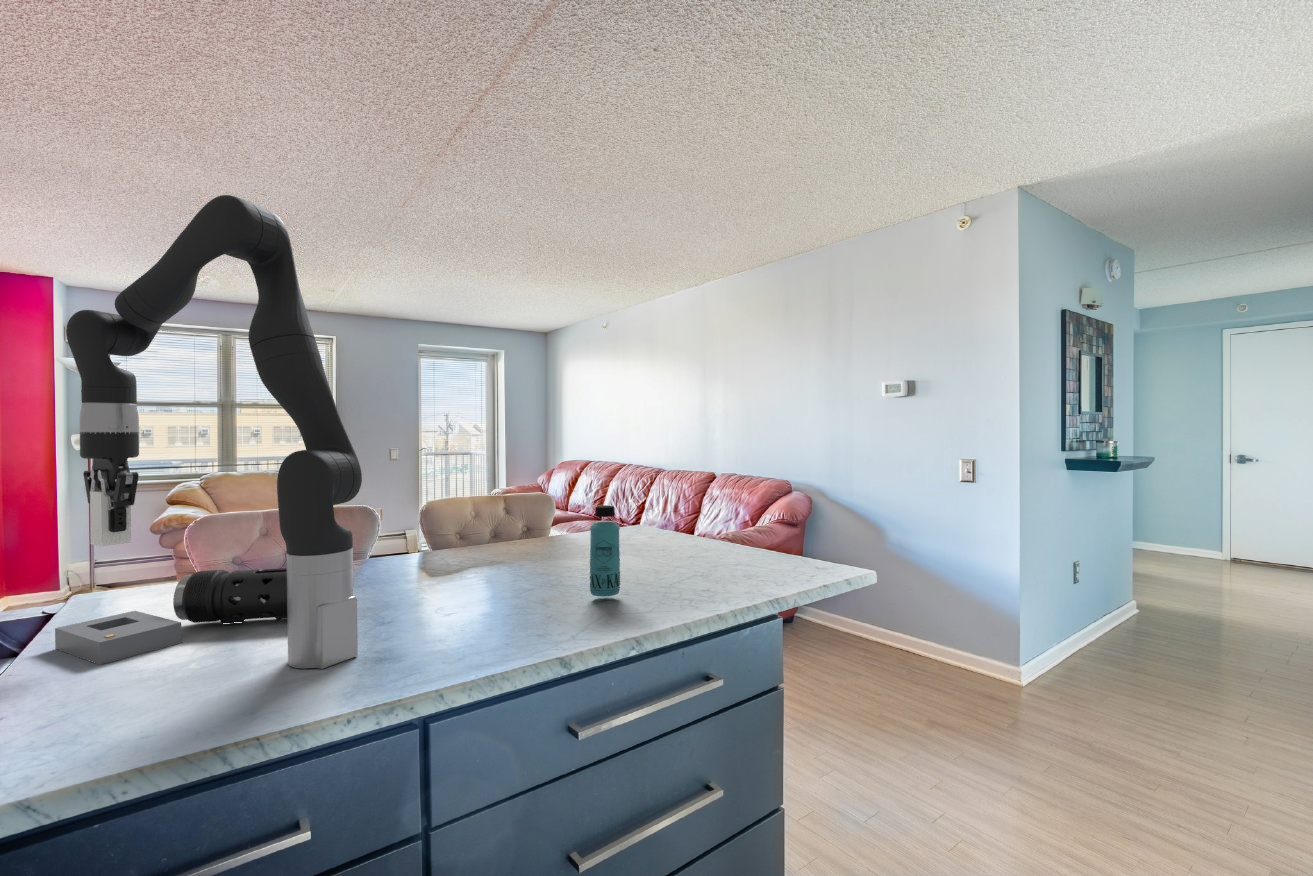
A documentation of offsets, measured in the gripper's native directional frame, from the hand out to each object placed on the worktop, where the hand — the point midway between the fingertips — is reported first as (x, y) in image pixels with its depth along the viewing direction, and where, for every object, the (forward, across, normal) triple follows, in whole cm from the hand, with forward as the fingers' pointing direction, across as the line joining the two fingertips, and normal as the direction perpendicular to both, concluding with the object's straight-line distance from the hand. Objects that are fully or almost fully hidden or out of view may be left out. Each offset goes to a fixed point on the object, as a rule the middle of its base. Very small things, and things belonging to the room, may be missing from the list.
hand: (111, 530), depth 104 cm
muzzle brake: (+20, -11, -20) cm, 30 cm away
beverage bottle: (+19, -62, -60) cm, 88 cm away
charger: (+2, 0, 0) cm, 2 cm away
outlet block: (+20, -2, 0) cm, 20 cm away
